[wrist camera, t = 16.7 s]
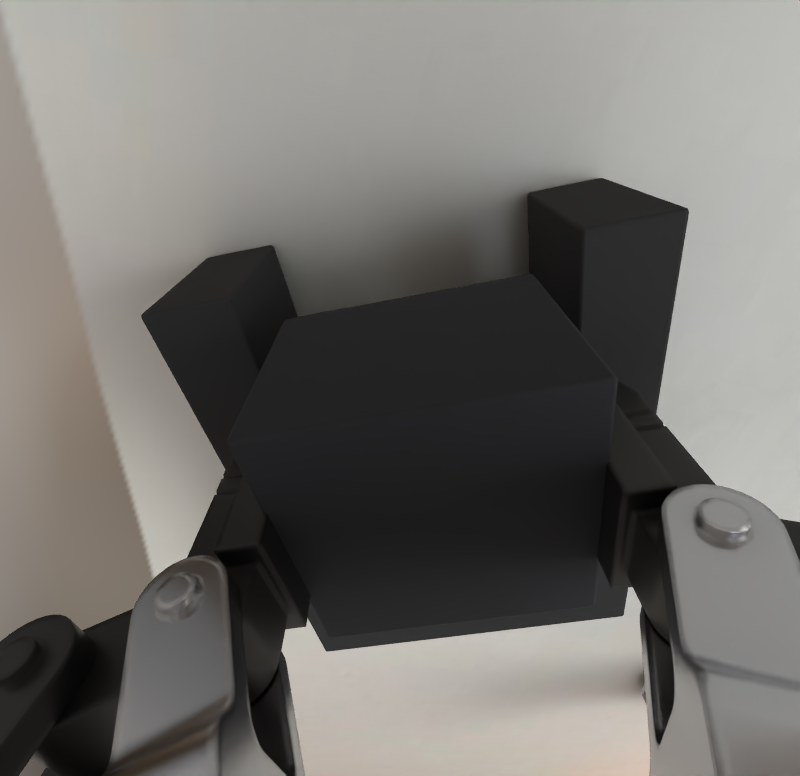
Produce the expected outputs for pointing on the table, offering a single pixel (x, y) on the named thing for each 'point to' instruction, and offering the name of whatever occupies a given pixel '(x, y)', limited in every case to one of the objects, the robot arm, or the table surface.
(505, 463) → the black block
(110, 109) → the table surface
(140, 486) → the table surface
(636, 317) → the black flat forked piece
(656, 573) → the robot arm
